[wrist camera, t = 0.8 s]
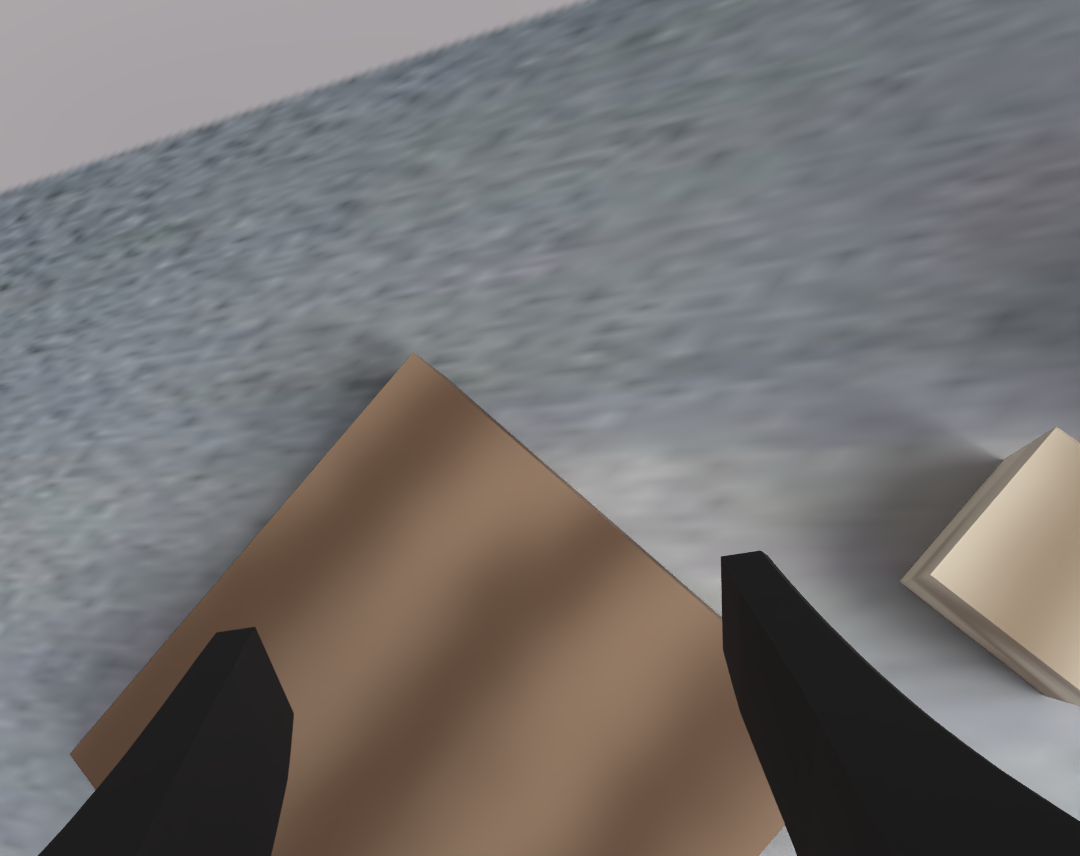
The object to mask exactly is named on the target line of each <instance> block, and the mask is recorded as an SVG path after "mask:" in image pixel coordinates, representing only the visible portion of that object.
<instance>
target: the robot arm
mask: <svg viewBox="0 0 1080 856" xmlns="http://www.w3.org/2000/svg"><path fill="white" fill-rule="evenodd" d="M721 582H722V633H723V652H724V656H725V660H726V663H727V667H728V671H729V674H730V678H731V682H732V685H733V689H734V693H735V696H736V700H737V703H738V707H739V710H740V713H741V716H742V718H743V721H744V723H745V726H746V728H747V731H748V733H749V736H750V739H751V741H752V744H753V746H754V749H755V751H756V754H757V756H758V759H759V761H760V764H761V766H762V769H763V771H764V774H765V776H766V779H767V781H768V784H769V786H770V788H771V791H772V793H773V796H774V798H775V801H776V803H777V806H778V808H779V811H780V813H781V816H782V818H783V821H784V823H785V826H786V828H787V831H788V833H789V836H790V838H791V841H792V843H793V846H794V848H795V851H796V854H797V856H1080V821H1078V820H1077V819H1075V818H1074V817H1072V816H1071V815H1069V814H1067V813H1066V812H1064V811H1063V810H1061V809H1060V808H1058V807H1057V806H1055V805H1054V804H1052V803H1051V802H1049V801H1048V800H1046V799H1044V798H1043V797H1041V796H1040V795H1038V794H1037V793H1035V792H1034V791H1032V790H1031V789H1029V788H1028V787H1026V786H1025V785H1023V784H1021V783H1020V782H1018V781H1017V780H1015V779H1014V778H1012V777H1011V776H1009V775H1008V774H1006V773H1005V772H1003V771H1002V770H1000V769H999V768H998V767H996V766H995V765H993V764H992V763H991V762H989V761H988V760H987V759H985V758H984V757H982V756H981V755H980V754H978V753H977V752H976V751H974V750H973V749H971V748H970V747H969V746H967V745H966V744H965V743H963V742H962V741H961V740H959V739H958V738H957V737H956V736H954V735H953V734H952V733H950V732H949V731H948V730H947V729H945V728H944V727H943V726H941V725H940V724H939V723H937V722H936V721H935V720H934V719H932V718H931V717H930V716H929V715H928V714H926V713H925V712H924V711H923V710H921V709H920V708H919V707H918V706H917V705H916V704H914V703H913V702H912V701H911V700H910V699H908V698H907V697H906V696H905V695H904V694H903V693H901V692H900V691H899V690H898V689H897V688H896V687H895V686H894V685H892V684H891V683H890V682H889V681H888V680H887V679H886V678H885V677H883V676H882V675H881V674H880V673H879V672H878V671H877V670H876V669H875V668H874V667H872V666H871V665H870V664H869V663H868V662H867V661H866V660H865V659H864V658H863V657H862V656H861V655H860V654H859V653H858V652H857V651H856V650H855V649H854V648H853V647H852V646H851V645H850V644H849V643H848V642H847V641H845V640H844V639H843V638H842V637H841V636H840V635H839V634H838V633H837V632H836V631H835V630H834V629H833V628H832V627H831V626H830V625H829V624H828V623H827V622H826V620H825V619H824V618H823V617H822V616H821V615H820V614H819V613H818V612H817V611H816V610H815V609H814V608H813V607H812V606H811V605H810V604H809V602H808V601H807V600H806V599H805V598H804V597H803V596H802V595H801V594H800V593H799V592H798V590H797V589H796V588H795V587H794V586H793V585H792V584H791V583H790V581H789V580H788V579H787V578H786V577H785V576H784V574H783V573H782V572H781V571H780V570H779V569H778V567H777V566H776V565H775V564H774V563H773V561H772V560H771V559H770V558H769V557H768V555H766V554H765V553H763V552H762V551H755V552H748V553H742V554H735V555H729V556H722V557H721ZM293 719H294V713H293V710H292V708H291V706H290V704H289V701H288V699H287V697H286V695H285V692H284V690H283V688H282V686H281V683H280V681H279V679H278V677H277V674H276V672H275V670H274V668H273V665H272V663H271V661H270V659H269V656H268V654H267V652H266V650H265V647H264V645H263V643H262V641H261V638H260V636H259V634H258V632H257V630H256V627H249V628H243V629H236V630H229V631H223V632H216V633H215V635H214V636H213V637H212V639H211V640H210V641H209V643H208V644H207V645H206V647H205V648H204V649H203V650H202V652H201V653H200V654H199V656H198V657H197V659H196V660H195V661H194V663H193V664H192V665H191V667H190V668H189V669H188V671H187V672H186V674H185V675H184V676H183V678H182V679H181V680H180V682H179V683H178V684H177V686H176V687H175V689H174V690H173V691H172V693H171V694H170V695H169V697H168V698H167V699H166V701H165V702H164V703H163V705H162V706H161V708H160V709H159V710H158V712H157V713H156V714H155V716H154V717H153V718H152V719H151V721H150V722H149V723H148V725H147V726H146V727H145V729H144V730H143V731H142V733H141V734H140V735H139V736H138V738H137V739H136V740H135V742H134V743H133V744H132V746H131V747H130V748H129V750H128V751H127V752H126V753H125V755H124V756H123V757H122V759H121V760H120V761H119V762H118V764H117V765H116V766H115V767H114V769H113V770H112V771H111V772H110V773H109V775H108V776H107V777H106V778H105V779H104V781H103V782H102V783H101V784H100V785H99V787H98V788H97V789H96V790H95V792H94V793H93V794H92V795H91V796H90V798H89V799H88V800H87V801H86V802H85V804H84V805H83V806H82V807H81V808H80V810H79V811H78V812H77V813H76V814H75V815H74V817H73V818H72V819H71V820H70V821H69V822H68V823H67V825H66V826H65V827H64V828H63V829H62V830H61V831H60V832H59V833H58V835H57V836H56V837H55V838H54V839H53V840H52V841H51V842H50V843H49V844H48V846H47V847H46V848H45V849H44V850H43V851H42V852H41V853H40V854H39V855H38V856H271V854H272V850H273V845H274V841H275V837H276V832H277V827H278V823H279V818H280V814H281V809H282V805H283V800H284V795H285V790H286V786H287V781H288V773H289V764H290V755H291V744H292V732H293Z"/></svg>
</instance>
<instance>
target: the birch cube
mask: <svg viewBox="0 0 1080 856" xmlns="http://www.w3.org/2000/svg"><path fill="white" fill-rule="evenodd" d="M900 582H901V583H902V584H903V585H905V586H906V587H907V588H909V589H910V590H911V591H912V592H914V593H915V594H916V595H917V596H919V597H920V598H921V599H923V600H924V601H925V602H926V603H928V604H929V605H930V606H931V607H933V608H934V609H935V610H937V611H938V612H939V613H940V614H942V615H943V616H944V617H945V618H947V619H948V620H949V621H950V622H952V623H953V624H954V625H956V626H957V627H958V628H959V629H961V630H962V631H963V632H964V633H966V634H967V635H968V636H970V637H971V638H972V639H973V640H975V641H976V642H977V643H978V644H980V645H981V646H982V647H984V648H985V649H986V650H987V651H989V652H990V653H991V654H992V655H994V656H995V657H996V658H998V659H999V660H1000V661H1001V662H1003V663H1004V664H1005V665H1006V666H1008V667H1009V668H1010V669H1012V670H1013V671H1014V672H1015V673H1017V674H1018V675H1019V676H1020V677H1022V678H1023V679H1024V680H1026V681H1027V682H1028V683H1029V684H1031V685H1032V686H1033V687H1034V688H1036V689H1037V690H1038V691H1040V692H1041V693H1042V694H1043V695H1045V696H1047V697H1050V698H1054V699H1057V700H1061V701H1064V702H1068V703H1071V704H1075V705H1078V706H1080V443H1079V442H1078V441H1077V440H1075V439H1074V438H1072V437H1071V436H1069V435H1068V434H1066V433H1065V432H1063V431H1062V430H1060V429H1059V428H1057V427H1055V428H1054V429H1052V430H1051V431H1049V432H1047V433H1046V434H1044V435H1043V436H1041V437H1039V438H1038V439H1036V440H1034V441H1033V442H1031V443H1030V444H1028V445H1026V446H1025V447H1023V448H1022V449H1020V450H1018V451H1017V452H1015V453H1013V454H1012V455H1010V456H1009V457H1007V458H1005V459H1004V460H1003V461H1002V462H1001V463H1000V464H999V465H998V467H997V468H996V469H995V470H994V471H993V472H992V474H991V475H990V476H989V477H988V478H987V479H986V481H985V482H984V483H983V484H982V485H981V486H980V488H979V489H978V490H977V491H976V492H975V493H974V495H973V496H972V497H971V498H970V499H969V501H968V502H967V503H966V504H965V505H964V506H963V508H962V509H961V510H960V511H959V512H958V513H957V515H956V516H955V517H954V518H953V519H952V520H951V522H950V523H949V524H948V525H947V526H946V527H945V529H944V530H943V531H942V532H941V533H940V534H939V536H938V537H937V538H936V539H935V540H934V542H933V543H932V544H931V545H930V546H929V547H928V549H927V550H926V551H925V552H924V553H923V554H922V556H921V557H920V558H919V559H918V560H917V561H916V563H915V564H914V565H913V566H912V567H911V568H910V570H909V571H908V572H907V573H906V574H905V575H904V577H903V578H902V579H901V580H900Z"/></svg>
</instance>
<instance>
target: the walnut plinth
mask: <svg viewBox="0 0 1080 856" xmlns="http://www.w3.org/2000/svg"><path fill="white" fill-rule="evenodd" d="M249 627H256V630H257V632H258V634H259V636H260V638H261V641H262V643H263V645H264V647H265V650H266V652H267V654H268V656H269V659H270V661H271V663H272V665H273V668H274V670H275V672H276V674H277V677H278V679H279V681H280V683H281V686H282V688H283V690H284V692H285V695H286V697H287V699H288V701H289V704H290V706H291V708H292V710H293V713H294V719H293V732H292V744H291V755H290V764H289V773H288V781H287V786H286V790H285V795H284V800H283V805H282V809H281V814H280V818H279V823H278V827H277V832H276V837H275V841H274V845H273V850H272V854H271V856H759V855H760V853H761V852H762V851H763V850H764V849H765V848H766V846H767V845H768V844H769V843H770V842H771V841H772V839H773V838H774V837H775V836H776V835H777V833H778V832H779V831H780V830H781V829H782V828H783V826H784V825H785V823H784V821H783V818H782V816H781V813H780V811H779V808H778V806H777V803H776V801H775V798H774V796H773V793H772V791H771V788H770V786H769V784H768V781H767V779H766V776H765V774H764V771H763V769H762V766H761V764H760V761H759V759H758V756H757V754H756V751H755V749H754V746H753V744H752V741H751V739H750V736H749V733H748V731H747V728H746V726H745V723H744V721H743V718H742V716H741V713H740V710H739V707H738V703H737V700H736V696H735V693H734V689H733V685H732V682H731V678H730V674H729V671H728V667H727V663H726V660H725V656H724V652H723V633H722V617H721V616H719V615H718V614H717V613H716V612H715V611H714V610H712V609H711V608H710V607H709V606H708V605H707V604H706V603H704V602H703V601H702V600H701V599H700V598H699V597H698V596H696V595H695V594H694V593H693V592H692V591H691V590H690V589H688V588H687V587H686V586H685V585H684V584H683V583H681V582H680V581H679V580H678V579H677V578H676V577H675V576H673V575H672V574H671V573H670V572H669V571H668V570H667V569H665V568H664V567H663V566H662V565H661V564H660V563H659V562H657V561H656V560H655V559H654V558H653V557H652V556H650V555H649V554H648V553H647V552H646V551H645V550H644V549H642V548H641V547H640V546H639V545H638V544H637V543H636V542H634V541H633V540H632V539H631V538H630V537H629V536H628V535H626V534H625V533H624V532H623V531H622V530H621V529H619V528H618V527H617V526H616V525H615V524H614V523H613V522H611V521H610V520H609V519H608V518H607V517H606V516H605V515H603V514H602V513H601V512H600V511H599V510H598V509H596V508H595V507H594V506H593V505H592V504H591V503H590V502H588V501H587V500H586V499H585V498H584V497H583V496H582V495H580V494H579V493H578V492H577V491H576V490H575V489H574V488H572V487H571V486H570V485H569V484H568V483H567V482H565V481H564V480H563V479H562V478H561V477H560V476H559V475H557V474H556V473H555V472H554V471H553V470H552V469H551V468H549V467H548V466H547V465H546V464H545V463H544V462H543V461H541V460H540V459H539V458H538V457H537V456H536V455H534V454H533V453H532V452H531V451H530V450H529V449H528V448H526V447H525V446H524V445H523V444H522V443H521V442H520V441H518V440H517V439H516V438H515V437H514V436H513V435H512V434H510V433H509V432H508V431H507V430H506V429H505V428H503V427H502V426H501V425H500V424H499V423H498V422H497V421H495V420H494V419H493V418H492V417H491V416H490V415H489V414H487V413H486V412H485V411H484V410H483V409H482V408H481V407H479V406H478V405H477V404H476V403H475V402H474V401H472V400H471V399H470V398H469V397H468V396H467V395H466V394H464V393H463V392H462V391H461V390H460V389H459V388H458V387H456V386H455V385H454V384H453V383H452V382H451V381H449V380H448V379H447V378H446V377H445V376H444V375H442V374H441V373H440V372H438V371H437V370H436V369H435V368H433V367H432V366H431V365H429V364H428V363H427V362H425V361H424V360H423V359H421V358H420V357H419V356H418V355H416V354H415V353H414V352H413V353H412V355H411V356H410V357H409V358H408V359H407V360H406V362H405V363H404V364H403V365H402V366H401V367H400V369H399V370H398V371H397V372H396V373H395V374H394V376H393V377H392V378H391V379H390V380H389V381H388V383H387V384H386V385H385V386H384V387H383V388H382V390H381V391H380V392H379V393H378V394H377V395H376V397H375V398H374V399H373V400H372V401H371V402H370V404H369V405H368V406H367V407H366V408H365V409H364V411H363V412H362V413H361V414H360V415H359V416H358V418H357V419H356V420H355V421H354V422H353V424H352V425H351V426H350V427H349V428H348V429H347V431H346V432H345V433H344V434H343V435H342V436H341V438H340V439H339V440H338V441H337V442H336V443H335V445H334V446H333V447H332V448H331V449H330V450H329V452H328V453H327V454H326V455H325V456H324V457H323V459H322V460H321V461H320V462H319V463H318V464H317V466H316V467H315V468H314V469H313V470H312V471H311V473H310V474H309V475H308V476H307V477H306V478H305V480H304V481H303V482H302V483H301V484H300V485H299V487H298V488H297V489H296V490H295V491H294V492H293V494H292V495H291V496H290V497H289V498H288V499H287V501H286V502H285V503H284V504H283V505H282V507H281V508H280V509H279V510H278V511H277V512H276V514H275V515H274V516H273V517H272V518H271V519H270V521H269V522H268V523H267V524H266V525H265V526H264V528H263V529H262V530H261V531H260V532H259V533H258V535H257V536H256V537H255V538H254V539H253V540H252V542H251V543H250V544H249V545H248V546H247V547H246V549H245V550H244V551H243V552H242V553H241V554H240V556H239V557H238V558H237V559H236V560H235V561H234V563H233V564H232V565H231V566H230V567H229V568H228V570H227V571H226V572H225V573H224V574H223V575H222V577H221V578H220V579H219V580H218V581H217V582H216V584H215V585H214V586H213V587H212V588H211V590H210V591H209V592H208V593H207V594H206V595H205V597H204V598H203V599H202V600H201V601H200V602H199V604H198V605H197V606H196V607H195V608H194V609H193V611H192V612H191V613H190V614H189V615H188V616H187V618H186V619H185V620H184V621H183V622H182V623H181V625H180V626H179V627H178V628H177V629H176V630H175V632H174V633H173V634H172V635H171V636H170V637H169V639H168V640H167V641H166V642H165V643H164V644H163V646H162V647H161V648H160V649H159V650H158V651H157V653H156V654H155V655H154V656H153V657H152V658H151V660H150V661H149V662H148V663H147V664H146V665H145V667H144V668H143V669H142V670H141V671H140V672H139V674H138V675H137V676H136V677H135V678H134V680H133V681H132V682H131V683H130V684H129V685H128V687H127V688H126V689H125V690H124V691H123V692H122V694H121V695H120V696H119V697H118V698H117V699H116V701H115V702H114V703H113V704H112V705H111V706H110V708H109V709H108V710H107V711H106V712H105V713H104V715H103V716H102V717H101V718H100V719H99V720H98V722H97V723H96V724H95V725H94V726H93V727H92V729H91V730H90V731H89V732H88V733H87V734H86V736H85V737H84V738H83V739H82V740H81V741H80V743H79V744H78V745H77V746H76V747H75V748H74V750H73V751H72V752H71V753H70V755H71V757H72V758H73V759H74V761H75V762H76V763H77V765H78V766H79V768H80V769H81V770H82V772H83V773H84V774H85V776H86V777H87V778H88V780H89V781H90V783H91V784H92V785H93V787H94V788H95V789H97V788H98V787H99V785H100V784H101V783H102V782H103V781H104V779H105V778H106V777H107V776H108V775H109V773H110V772H111V771H112V770H113V769H114V767H115V766H116V765H117V764H118V762H119V761H120V760H121V759H122V757H123V756H124V755H125V753H126V752H127V751H128V750H129V748H130V747H131V746H132V744H133V743H134V742H135V740H136V739H137V738H138V736H139V735H140V734H141V733H142V731H143V730H144V729H145V727H146V726H147V725H148V723H149V722H150V721H151V719H152V718H153V717H154V716H155V714H156V713H157V712H158V710H159V709H160V708H161V706H162V705H163V703H164V702H165V701H166V699H167V698H168V697H169V695H170V694H171V693H172V691H173V690H174V689H175V687H176V686H177V684H178V683H179V682H180V680H181V679H182V678H183V676H184V675H185V674H186V672H187V671H188V669H189V668H190V667H191V665H192V664H193V663H194V661H195V660H196V659H197V657H198V656H199V654H200V653H201V652H202V650H203V649H204V648H205V647H206V645H207V644H208V643H209V641H210V640H211V639H212V637H213V636H214V635H215V633H216V632H223V631H229V630H236V629H243V628H249Z"/></svg>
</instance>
